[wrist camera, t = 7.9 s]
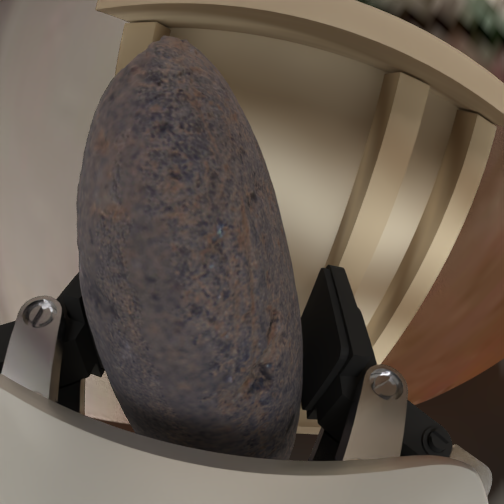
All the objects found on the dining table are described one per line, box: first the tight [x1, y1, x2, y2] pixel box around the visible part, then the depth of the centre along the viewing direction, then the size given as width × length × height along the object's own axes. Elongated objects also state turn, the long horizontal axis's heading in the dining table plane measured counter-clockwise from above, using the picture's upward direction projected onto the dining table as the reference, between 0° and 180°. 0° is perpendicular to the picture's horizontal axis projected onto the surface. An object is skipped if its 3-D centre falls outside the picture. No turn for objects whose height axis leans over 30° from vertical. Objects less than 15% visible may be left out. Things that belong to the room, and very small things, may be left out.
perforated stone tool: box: [77, 35, 303, 460], centre depth 8 cm, size 15×5×7 cm, turn 3°
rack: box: [95, 0, 504, 434], centre depth 11 cm, size 19×14×4 cm
